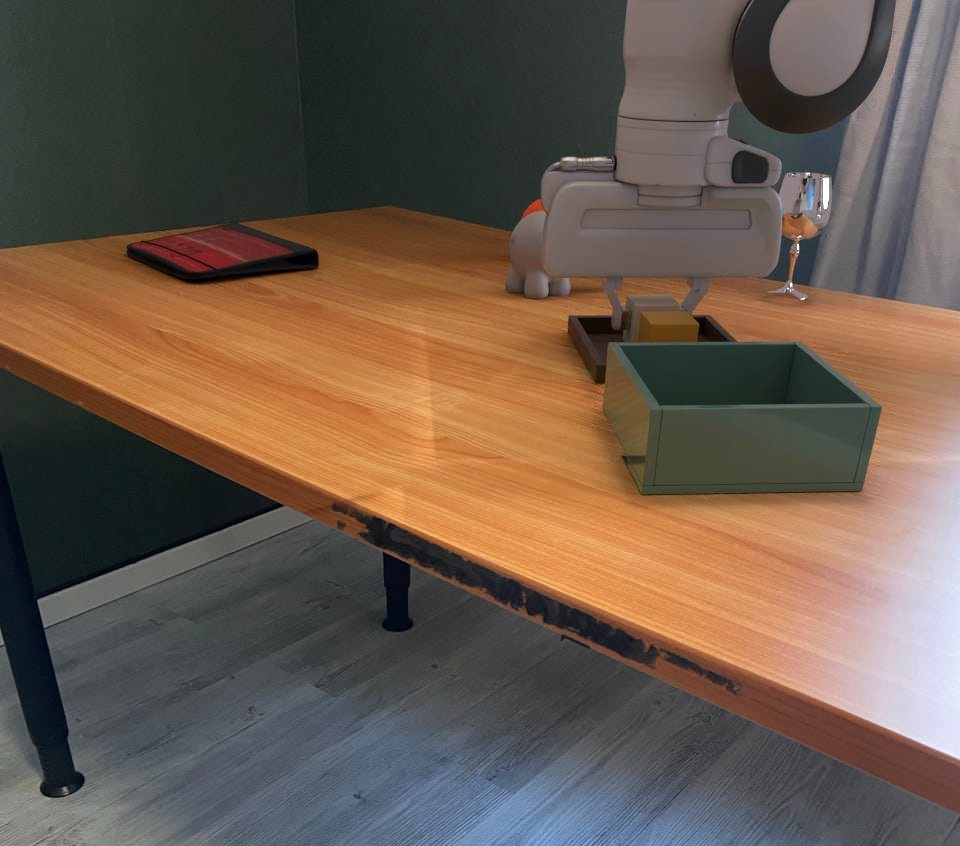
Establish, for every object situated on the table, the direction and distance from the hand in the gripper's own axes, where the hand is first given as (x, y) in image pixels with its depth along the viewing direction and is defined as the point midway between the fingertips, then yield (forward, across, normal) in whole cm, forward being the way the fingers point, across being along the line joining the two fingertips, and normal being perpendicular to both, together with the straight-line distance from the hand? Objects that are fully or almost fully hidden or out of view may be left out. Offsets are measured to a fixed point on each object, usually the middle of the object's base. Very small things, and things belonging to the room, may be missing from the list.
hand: (650, 328), depth 88 cm
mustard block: (+2, 0, -6) cm, 6 cm away
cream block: (+2, 0, 0) cm, 2 cm away
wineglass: (+2, +20, +21) cm, 29 cm away
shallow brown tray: (+2, 0, -3) cm, 4 cm away
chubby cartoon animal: (+2, -5, +22) cm, 23 cm away
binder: (+2, -44, +39) cm, 59 cm away
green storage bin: (+2, 0, -24) cm, 24 cm away
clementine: (+2, -4, +41) cm, 41 cm away
